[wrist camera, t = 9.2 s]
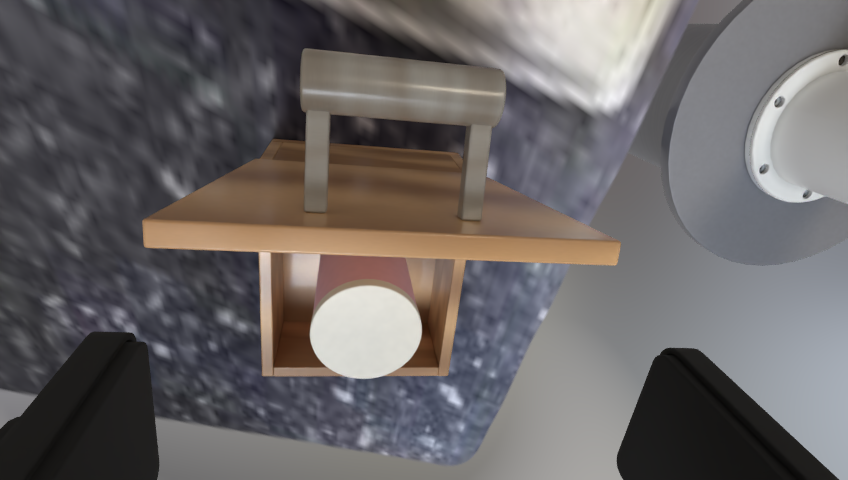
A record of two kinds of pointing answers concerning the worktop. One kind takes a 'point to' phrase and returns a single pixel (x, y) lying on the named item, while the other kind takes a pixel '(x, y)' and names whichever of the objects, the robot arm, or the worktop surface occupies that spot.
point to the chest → (297, 277)
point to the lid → (381, 181)
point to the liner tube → (364, 315)
